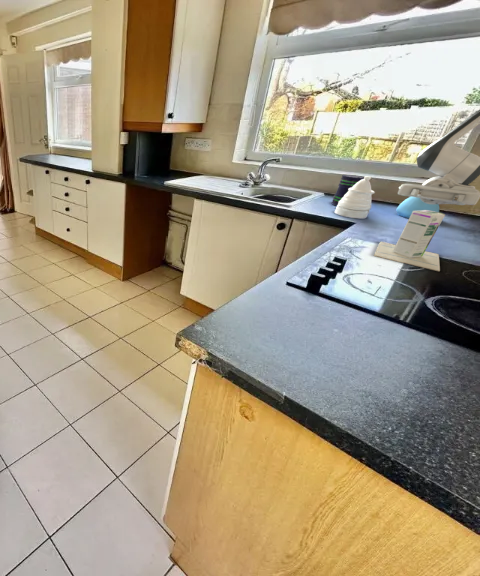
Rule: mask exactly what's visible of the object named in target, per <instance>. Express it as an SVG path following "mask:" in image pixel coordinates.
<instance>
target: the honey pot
mask: <svg viewBox="0 0 480 576" xmlns="http://www.w3.org/2000/svg"><path fill="white" fill-rule="evenodd" d="M363 177H364V179H362V180H360V181H359V182H357V183H356V184H355V185H354V186H353V187H352V188H349V189H348V190H349V191H348V192H347V193H346V194H345V195H344V197H343V198H342V199H341V200H340V201H339V203H338V205H336V208H335V210H334V214H336V215H338V216H341V217H345V218H346V217H347V218H352V219H361V220H362V219H367V218H368V215H369V214H370V211H371V209H372V200H373V198H372V195H373V194H375V193H376V191H375V190H372V185H371V182H370V180H371V179H372V176H369V175H365V176H363Z"/></svg>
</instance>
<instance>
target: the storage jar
mask: <svg viewBox="0 0 480 576" xmlns="http://www.w3.org/2000/svg"><path fill="white" fill-rule="evenodd" d="M364 177H365V176H361V175H354V174H342V176H341V178H340V180H339V183H338V185H337V190H336V191H335V193H334V195H333V197H332V201H331V205H334V206H337V205H338V203H339V201H340V200H341V199H342V198H343V197H344V195H345V194H346V193H347V192H348V191H349V190H348V189H349V188H352V187H353V186H354V185H355V184H356V183H357V182H359V181H360V180H362V179H364Z"/></svg>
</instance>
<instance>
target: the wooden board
mask: <svg viewBox="0 0 480 576" xmlns="http://www.w3.org/2000/svg"><path fill="white" fill-rule="evenodd" d="M395 246H396V244H394V243H389V242H385V241H379V243H378V246H377V248H376V250H375V252H374V254H373V256H374V257H376V258H382V259H384V260H385V259H386V260H390V261H393V262H398V263H401V264H402V263H403V264H407V265H410V266H414V267H419V268H421V269H422V268H423V269H427V270H431V271H436V272H440V271H441V266H440V254H439V253H436V252H431V251H426V250H425V252H424V254H423V256H422V257H412V258H409V257H406V256H403V255H400V254H397V253H395V252H393V250H394V248H395Z"/></svg>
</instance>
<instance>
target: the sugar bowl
mask: <svg viewBox="0 0 480 576" xmlns="http://www.w3.org/2000/svg"><path fill="white" fill-rule="evenodd" d="M421 210H429V211H435V212H439V213H440V204H427V203H424V202H423V201H422V200H421V199H420V198H418V197H410V196H408V197H407V198H406V199H404V200H403V201H402V202H401V203H399V205H398V206H397V208H396V213H397V215H398V216H400V217H403V218H407V219H409V218H410V216H411V214H412V212H413V211H421Z"/></svg>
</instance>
